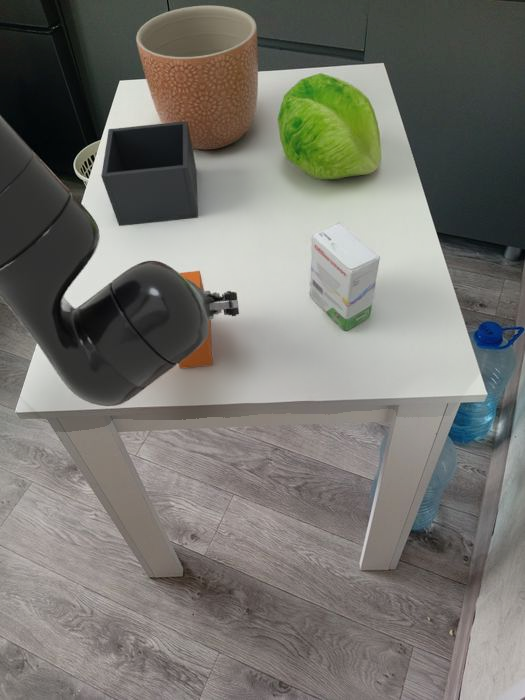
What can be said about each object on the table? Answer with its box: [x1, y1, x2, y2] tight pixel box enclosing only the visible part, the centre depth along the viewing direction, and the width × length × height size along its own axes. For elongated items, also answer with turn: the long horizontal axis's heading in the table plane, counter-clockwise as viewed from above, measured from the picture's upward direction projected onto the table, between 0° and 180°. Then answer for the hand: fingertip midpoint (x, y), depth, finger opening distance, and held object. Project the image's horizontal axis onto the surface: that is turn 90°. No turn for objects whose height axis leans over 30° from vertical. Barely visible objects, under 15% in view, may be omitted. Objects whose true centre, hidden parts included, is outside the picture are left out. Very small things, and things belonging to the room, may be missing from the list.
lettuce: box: [277, 72, 382, 180], centre depth 88 cm, size 17×20×16 cm
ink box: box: [309, 222, 381, 332], centre depth 69 cm, size 8×5×12 cm, turn 33°
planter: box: [135, 5, 259, 150], centre depth 95 cm, size 21×21×19 cm
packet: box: [178, 270, 213, 369], centre depth 67 cm, size 4×8×10 cm, turn 5°
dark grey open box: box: [100, 121, 199, 226], centre depth 88 cm, size 14×14×10 cm
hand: (187, 304), depth 67 cm, fingers open, 6 cm apart
